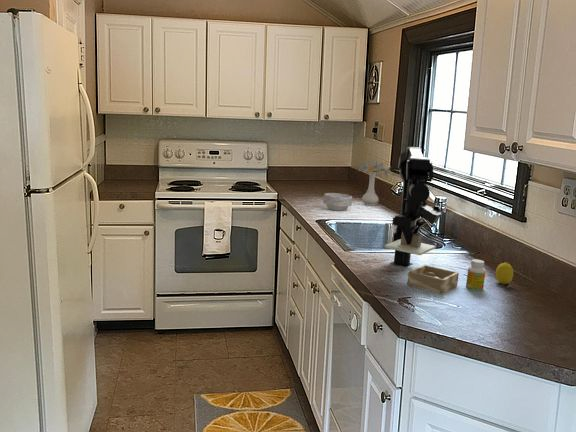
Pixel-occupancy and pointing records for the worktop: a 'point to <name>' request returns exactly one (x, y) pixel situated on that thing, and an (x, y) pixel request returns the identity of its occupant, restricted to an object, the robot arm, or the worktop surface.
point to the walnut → (431, 274)
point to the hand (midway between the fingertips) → (410, 243)
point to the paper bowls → (337, 201)
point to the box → (432, 279)
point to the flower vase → (372, 181)
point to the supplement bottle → (476, 275)
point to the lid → (411, 245)
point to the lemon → (504, 273)
